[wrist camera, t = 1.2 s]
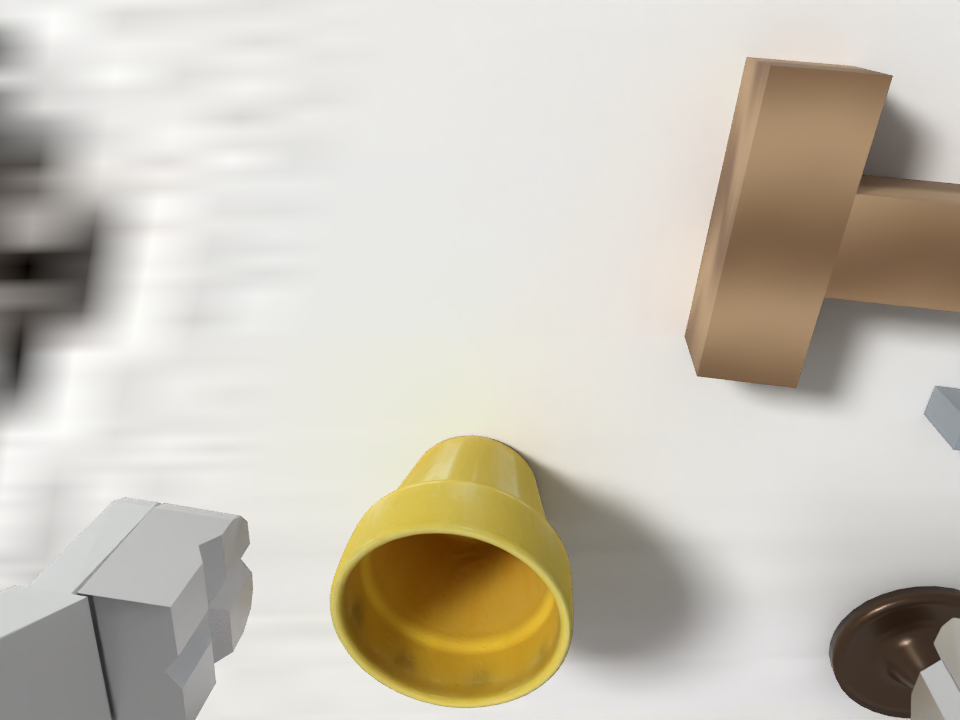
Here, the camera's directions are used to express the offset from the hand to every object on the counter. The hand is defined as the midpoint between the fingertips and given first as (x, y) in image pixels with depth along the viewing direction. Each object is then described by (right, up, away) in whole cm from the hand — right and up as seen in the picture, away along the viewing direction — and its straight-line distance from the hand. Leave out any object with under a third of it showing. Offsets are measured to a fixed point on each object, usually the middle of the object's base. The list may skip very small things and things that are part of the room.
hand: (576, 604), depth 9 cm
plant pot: (-1, -4, +30) cm, 30 cm away
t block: (+15, +9, +22) cm, 28 cm away
